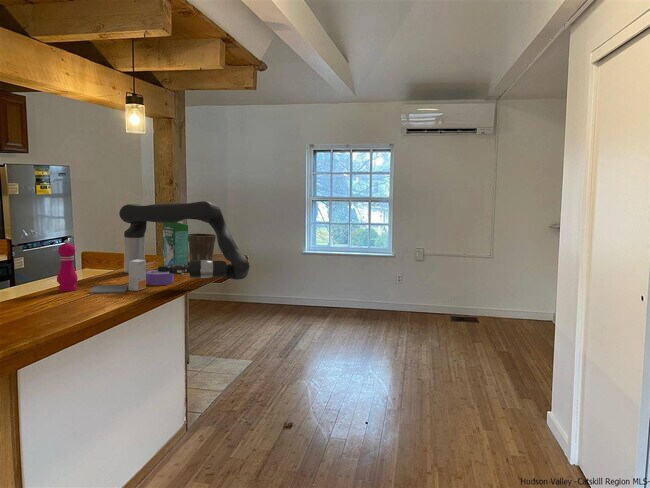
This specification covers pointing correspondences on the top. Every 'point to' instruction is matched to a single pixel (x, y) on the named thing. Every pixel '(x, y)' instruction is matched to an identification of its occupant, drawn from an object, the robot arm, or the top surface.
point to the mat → (109, 289)
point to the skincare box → (137, 275)
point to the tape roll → (159, 278)
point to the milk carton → (175, 243)
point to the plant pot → (201, 246)
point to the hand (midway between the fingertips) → (158, 269)
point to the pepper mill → (66, 268)
